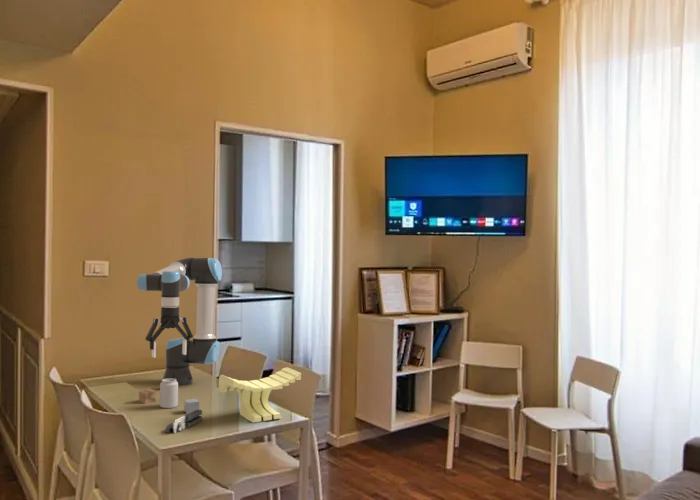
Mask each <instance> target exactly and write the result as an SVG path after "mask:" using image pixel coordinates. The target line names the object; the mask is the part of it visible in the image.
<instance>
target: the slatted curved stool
mask: <svg viewBox="0 0 700 500" xmlns="http://www.w3.org/2000/svg"><path fill="white" fill-rule="evenodd" d="M298 380H299V381H300V380H302V372H299V371H297V370H295V369H292V368H290V367H288V366H287V367H284V368H281V369H280V370H279V371H275V373H273V374H270V375H269V376H267V377H262V378H259V379H253V380H240V379H239V380H238V379H236V378H232V377H229V376H226V375H224V374H220V375H219V378H218V392H220V393H222V394H224V393H227V392H228V391H229V392H235V391H236V392H237V395H238V398H239V402H240V407H239V414H240V416H241V417H243V418H245V419H246V420H248V421H249V422H250V423H258V422H265V421H271V420H272V421H273V420H277V419H283V417H282V415H281V413H280V412H278V411H276V410H275V409H273V408H272V407H271V406H270V404H269V397H270V394H271V392H272V391H273V390H282V389H284V387H286V386H287V387H288V386H290V384H294V383H296V381H298ZM283 386H284V387H283Z"/></svg>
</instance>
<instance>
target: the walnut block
mask: <svg viewBox="0 0 700 500" xmlns="http://www.w3.org/2000/svg"><path fill="white" fill-rule="evenodd" d="M156 395H157V394H156V391H155V390H153V389H144V390H140V391H138V402H139V403H142V404H150V403H155V402H156Z"/></svg>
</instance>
